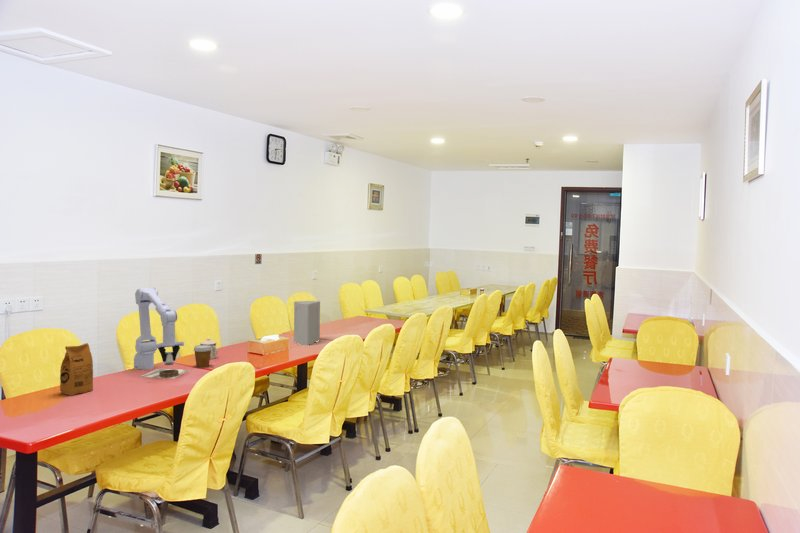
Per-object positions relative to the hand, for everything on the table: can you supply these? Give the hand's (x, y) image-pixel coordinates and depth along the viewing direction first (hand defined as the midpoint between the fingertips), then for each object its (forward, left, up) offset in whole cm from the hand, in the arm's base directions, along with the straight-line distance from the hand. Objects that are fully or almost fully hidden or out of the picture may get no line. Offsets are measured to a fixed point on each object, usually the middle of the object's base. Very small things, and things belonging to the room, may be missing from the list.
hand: (169, 361), depth 296 cm
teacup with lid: (0, +47, -9) cm, 48 cm away
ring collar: (0, 0, -8) cm, 8 cm away
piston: (0, 0, -2) cm, 2 cm away
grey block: (+40, +106, -9) cm, 114 cm away
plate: (-4, +4, -8) cm, 10 cm away
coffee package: (-27, -33, -9) cm, 44 cm away
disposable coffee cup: (+7, +23, -9) cm, 26 cm away
